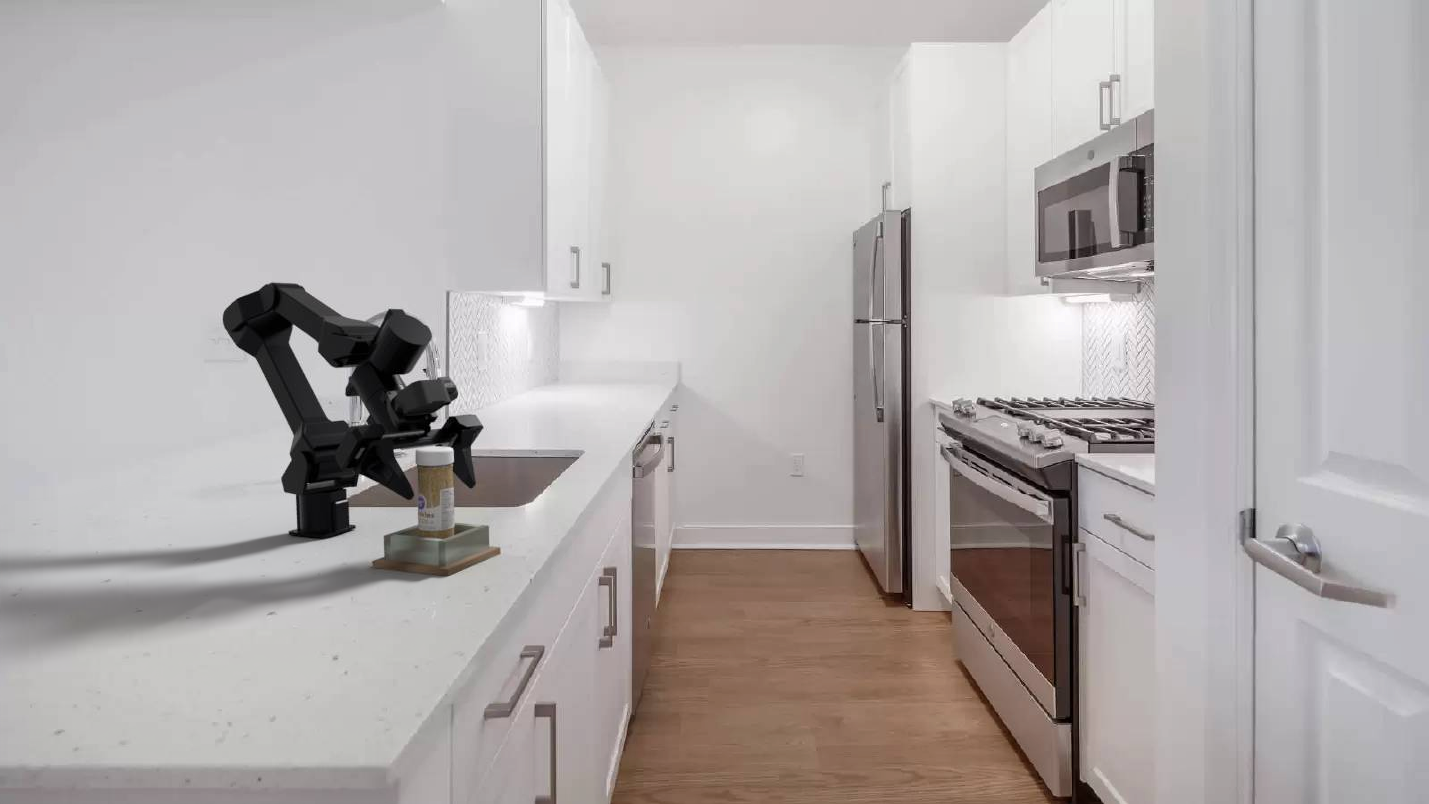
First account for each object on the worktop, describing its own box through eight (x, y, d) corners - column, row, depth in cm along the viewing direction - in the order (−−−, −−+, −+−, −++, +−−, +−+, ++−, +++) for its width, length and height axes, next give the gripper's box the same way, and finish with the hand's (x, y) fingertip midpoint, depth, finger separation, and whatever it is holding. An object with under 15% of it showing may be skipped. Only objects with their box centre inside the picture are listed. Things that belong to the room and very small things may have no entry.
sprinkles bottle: (410, 555, 109) (407, 449, 107) (437, 547, 113) (434, 444, 112) (437, 560, 107) (434, 451, 105) (464, 551, 111) (461, 446, 109)
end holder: (372, 567, 106) (371, 536, 106) (429, 546, 117) (429, 518, 116) (448, 576, 103) (447, 544, 102) (500, 553, 113) (499, 524, 113)
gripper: (345, 358, 102) (405, 459, 97) (472, 354, 117) (531, 442, 112) (310, 420, 107) (366, 520, 102) (437, 409, 122) (491, 495, 117)
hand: (443, 492), depth 108 cm, fingers open, 9 cm apart
